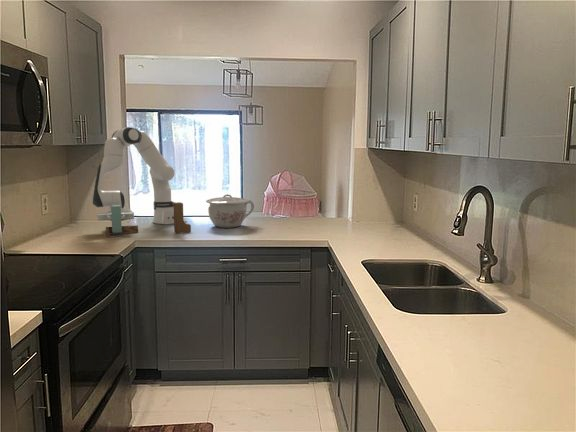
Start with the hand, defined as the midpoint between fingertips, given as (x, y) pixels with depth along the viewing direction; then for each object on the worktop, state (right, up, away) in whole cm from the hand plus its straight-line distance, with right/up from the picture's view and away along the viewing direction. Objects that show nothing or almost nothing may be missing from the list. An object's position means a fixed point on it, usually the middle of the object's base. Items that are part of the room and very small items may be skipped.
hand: (116, 218), depth 278 cm
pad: (0, -10, +2) cm, 10 cm away
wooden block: (+35, -9, +14) cm, 39 cm away
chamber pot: (+60, -6, +35) cm, 70 cm away
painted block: (0, -8, +2) cm, 8 cm away
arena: (+2, -10, +5) cm, 11 cm away
